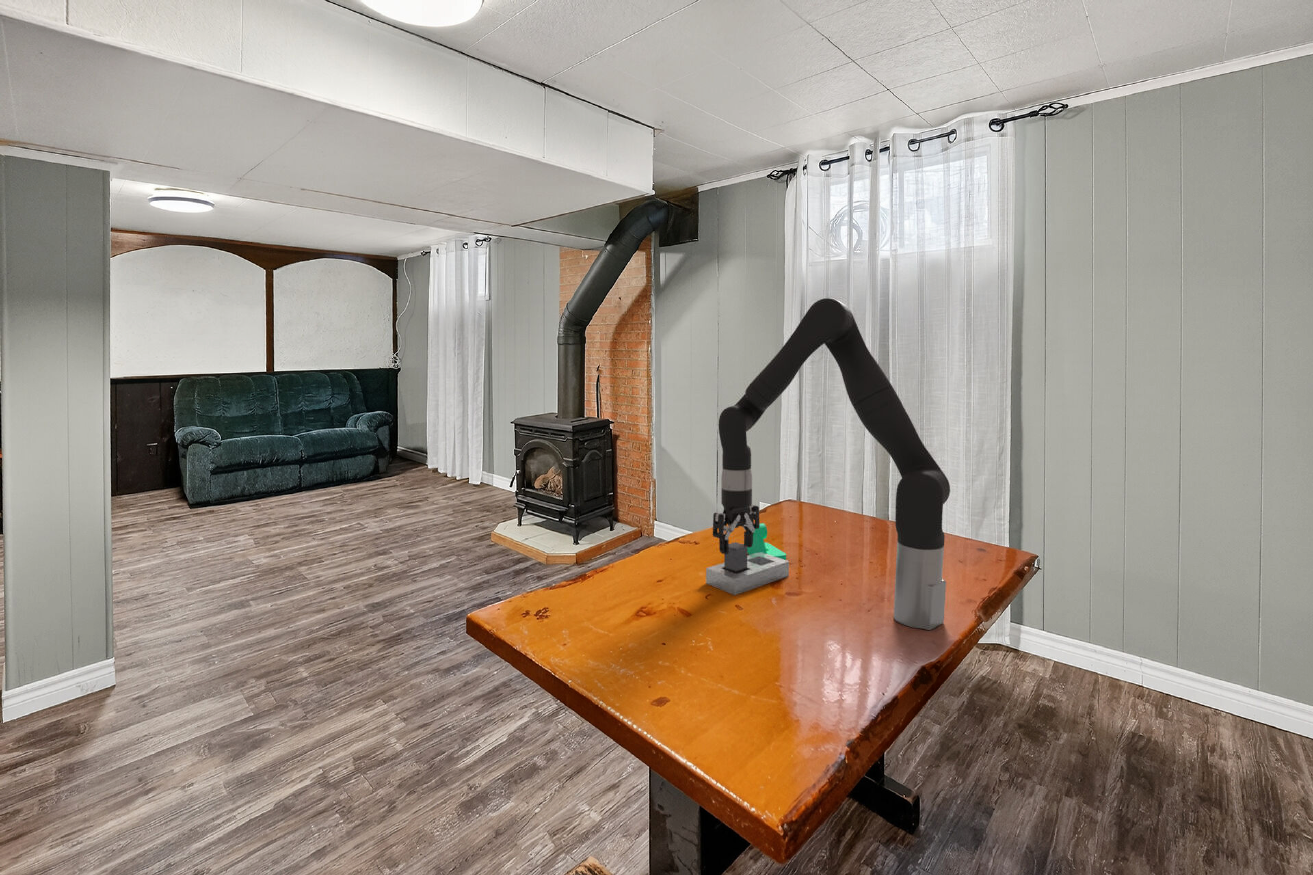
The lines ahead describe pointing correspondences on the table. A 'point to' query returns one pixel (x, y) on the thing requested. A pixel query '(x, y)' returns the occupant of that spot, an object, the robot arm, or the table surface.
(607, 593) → the table surface
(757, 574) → the rail
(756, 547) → the camera mount
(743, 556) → the peg
